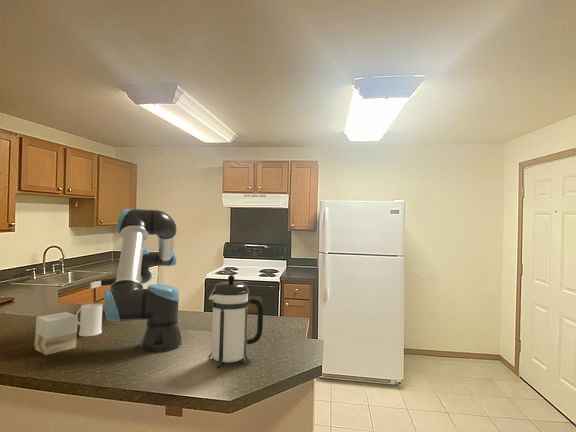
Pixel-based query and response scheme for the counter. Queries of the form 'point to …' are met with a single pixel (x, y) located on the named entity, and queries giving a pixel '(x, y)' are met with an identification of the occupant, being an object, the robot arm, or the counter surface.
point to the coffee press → (232, 321)
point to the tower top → (56, 324)
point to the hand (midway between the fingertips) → (104, 286)
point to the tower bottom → (55, 343)
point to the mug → (90, 319)
